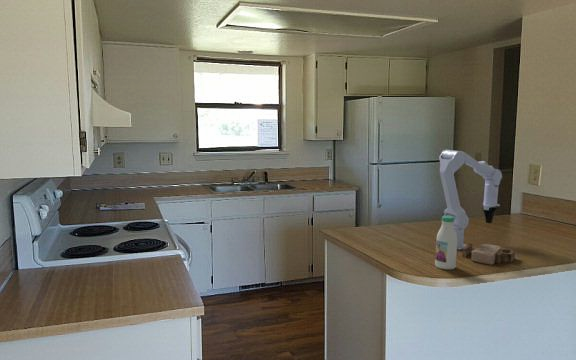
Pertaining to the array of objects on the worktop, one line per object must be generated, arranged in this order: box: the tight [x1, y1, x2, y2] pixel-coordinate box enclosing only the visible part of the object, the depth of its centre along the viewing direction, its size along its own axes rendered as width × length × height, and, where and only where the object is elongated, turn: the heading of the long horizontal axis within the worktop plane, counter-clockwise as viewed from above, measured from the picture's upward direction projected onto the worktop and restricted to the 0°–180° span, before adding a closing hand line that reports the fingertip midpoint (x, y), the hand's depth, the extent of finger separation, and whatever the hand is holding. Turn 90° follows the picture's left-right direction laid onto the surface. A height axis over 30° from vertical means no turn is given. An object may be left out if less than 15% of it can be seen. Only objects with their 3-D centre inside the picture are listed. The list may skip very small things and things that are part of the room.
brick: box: [471, 243, 502, 266], centre depth 185 cm, size 17×8×5 cm, turn 143°
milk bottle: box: [434, 215, 458, 270], centre depth 173 cm, size 8×8×20 cm
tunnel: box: [461, 243, 516, 264], centre depth 186 cm, size 18×11×4 cm, turn 52°
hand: (488, 222), depth 208 cm, fingers closed
